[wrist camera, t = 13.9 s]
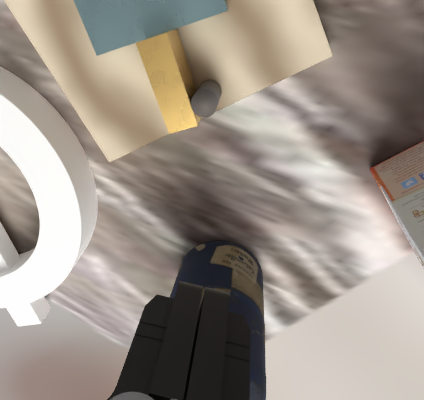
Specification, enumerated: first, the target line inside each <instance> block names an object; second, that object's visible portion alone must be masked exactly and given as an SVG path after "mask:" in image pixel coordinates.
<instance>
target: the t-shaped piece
mask: <svg viewBox="0 0 424 400" xmlns="http://www.w3.org/2000/svg"><path fill="white" fill-rule="evenodd" d="M74 3H75V5H76V7H77V10H78V12H79V15H80V17H81V19H82V22H83V24H84V27H85V29H86V31H87V34H88V36H89V39H90V41H91V43H92V46H93V48H94V50H95V53H96V55H97V56H98V55H101V54H104V53H107V52H110V51H113V50H116V49H119V48H121V47H124V46H127V45H130V44H133V43H136V42H137V43H136V46H137V48H138V51H139V54H140V56H141V59H142V62H143V65H144V67H145V70H146V73H147V75H148V78H149V81H150V83H151V86H152V89H153V92H154V94H155V97H156V100H157V102H158V105H159V108H160V110H161V113H162V116H163V119H164V121H165V124H166V127H167V129H168V132H169V134H171V133H174V132H178V131H181V130H185V129H188V128H192V127H196V126H198V124H199V122H200V120H201V117H199V116H197V115H196V114H195V113H194V112H193V110H192V108H191V99H192V97H193V96H194V94H195V92H196V91H197V90H196V86H195V83H194V80H193V77H192V74H191V71H190V68H189V65H188V62H187V59H186V55H185V52H184V49H183V46H182V43H181V40H180V37H179V34H178V31H177V28H180V27H182V26H185V25H188V24H191V23H194V22H197V21H200V20H203V19H206V18H209V17H211V16H214V15H217V14H220V13H223V12H226V11H228V6H227V2H226V0H74ZM139 41H140V42H139Z"/></svg>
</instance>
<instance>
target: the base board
mask: <svg viewBox="0 0 424 400" xmlns="http://www.w3.org/2000/svg"><path fill="white" fill-rule="evenodd" d="M4 1H5V3H6V4H7V6H8V7H9V9H10V10H11V12H12V13H13V15H14V16H15V18H16V20H17V21H18V23H19V24H20V26H21V27H22V29H23V30H24V32H25V33H26V35H27V36H28V38H29V40H30V41H31V43H32V44H33V46H34V47H35V49H36V50H37V52H38V53H39V55H40V56H41V58H42V60H43V61H44V63H45V64H46V66H47V67H48V69H49V70H50V72H51V73H52V75H53V76H54V78H55V80H56V81H57V83H58V84H59V86H60V87H61V89H62V90H63V92H64V93H65V95H66V96H67V98H68V100H69V101H70V103H71V104H72V106H73V107H74V109H75V110H76V112H77V113H78V115H79V116H80V118H81V120H82V121H83V123H84V124H85V126H86V127H87V129H88V130H89V132H90V133H91V135H92V136H93V138H94V140H95V141H96V143H97V144H98V146H99V147H100V149H101V150H102V152H103V153H104V155H105V156H106V158H107V160H108V161H109V162H111V161H113V160H115V159H117V158H119V157H122V156H124V155H126V154H128V153H130V152H132V151H134V150H136V149H138V148H140V147H143V146H145V145H147V144H149V143H151V142H153V141H155V140H157V139H159V138H161V137H164V136H166V135H168V134H169V132H168V129H167V127H166V124H165V121H164V119H163V116H162V113H161V110H160V108H159V105H158V102H157V100H156V97H155V94H154V92H153V89H152V86H151V83H150V81H149V78H148V75H147V73H146V70H145V67H144V65H143V62H142V59H141V56H140V54H139V51H138V48H137V46H136V43H137V42H136V43H133V44H130V45H127V46H124V47H121V48H119V49H116V50H113V51H110V52H107V53H104V54H101V55H98V56H97V55H96V53H95V50H94V48H93V46H92V43H91V41H90V39H89V36H88V34H87V31H86V29H85V27H84V24H83V22H82V19H81V17H80V15H79V12H78V10H77V7H76V5H75V3H74V0H4ZM226 2H227V6H228V11H226V12H223V13H220V14H217V15H214V16H211V17H209V18H206V19H203V20H200V21H197V22H194V23H191V24H188V25H185V26H182V27H180V28H177V31H178V34H179V37H180V40H181V43H182V46H183V49H184V52H185V55H186V59H187V62H188V65H189V68H190V71H191V74H192V77H193V80H194V83H195V86H196V90H197V91H196V92H195V94H194V96H193V97H192V99H191V108H192V110H193V112H194V113H195V114H196V115H197V116H199V117H201V118H203V117H209V116H211V115H212V114H214V112H216V111H218V110H220V109H222V108H224V107H226V106H229V105H231V104H233V103H235V102H237V101H239V100H241V99H243V98H245V97H247V96H250V95H252V94H254V93H256V92H258V91H260V90H262V89H264V88H266V87H268V86H271V85H273V84H275V83H277V82H279V81H281V80H283V79H285V78H287V77H289V76H292V75H294V74H296V73H298V72H300V71H302V70H304V69H306V68H308V67H310V66H312V65H315V64H317V63H319V62H321V61H323V60H325V59H327V58H329V57H331V56H333V55H332V52H331V50H330V47H329V44H328V41H327V38H326V35H325V32H324V30H323V27H322V24H321V21H320V18H319V15H318V12H317V10H316V7H315V4H314V1H313V0H226ZM139 42H140V41H139Z"/></svg>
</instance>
